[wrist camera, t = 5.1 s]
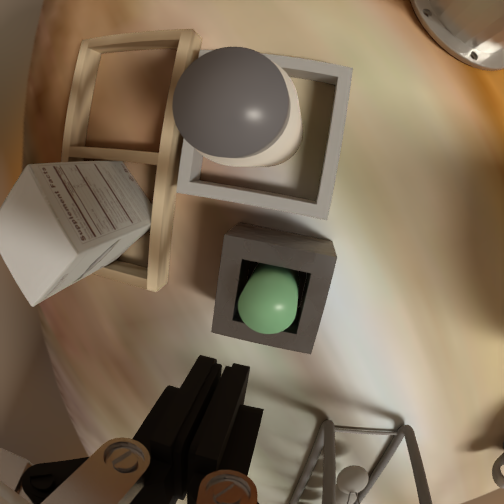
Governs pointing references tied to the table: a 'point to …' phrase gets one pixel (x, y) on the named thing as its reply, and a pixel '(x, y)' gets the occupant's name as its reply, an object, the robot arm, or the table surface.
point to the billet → (238, 109)
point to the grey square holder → (282, 255)
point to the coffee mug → (498, 471)
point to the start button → (270, 299)
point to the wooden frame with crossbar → (164, 159)
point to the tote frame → (321, 206)
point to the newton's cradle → (358, 468)
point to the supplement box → (69, 223)
